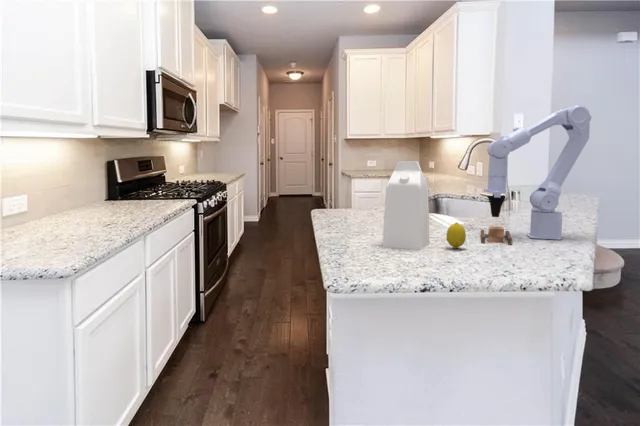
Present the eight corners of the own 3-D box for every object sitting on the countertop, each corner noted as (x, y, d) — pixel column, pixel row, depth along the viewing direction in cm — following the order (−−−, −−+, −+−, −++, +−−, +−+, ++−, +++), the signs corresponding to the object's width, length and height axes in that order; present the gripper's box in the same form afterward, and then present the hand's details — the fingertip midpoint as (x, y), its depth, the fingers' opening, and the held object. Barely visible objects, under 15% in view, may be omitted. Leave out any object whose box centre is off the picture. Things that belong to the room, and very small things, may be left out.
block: (502, 240, 158) (503, 227, 157) (503, 243, 153) (504, 229, 153) (488, 239, 159) (488, 226, 158) (488, 242, 155) (489, 228, 154)
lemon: (466, 251, 142) (467, 224, 141) (446, 250, 143) (447, 223, 142) (464, 247, 147) (465, 221, 146) (445, 246, 148) (446, 220, 147)
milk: (429, 243, 154) (431, 161, 150) (420, 250, 144) (423, 162, 140) (392, 240, 159) (394, 160, 155) (382, 246, 149) (383, 161, 145)
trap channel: (508, 235, 165) (508, 230, 165) (511, 244, 150) (512, 238, 150) (480, 234, 168) (480, 229, 167) (481, 243, 153) (481, 236, 153)
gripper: (484, 175, 169) (482, 213, 171) (485, 177, 156) (483, 219, 157) (505, 175, 167) (503, 214, 169) (508, 178, 153) (506, 220, 155)
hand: (495, 216), depth 163 cm, fingers closed
